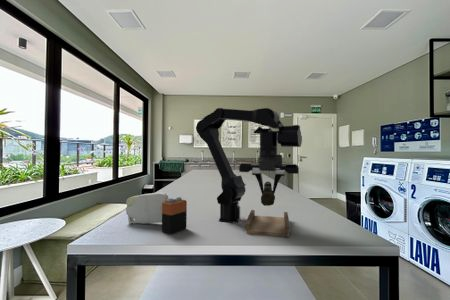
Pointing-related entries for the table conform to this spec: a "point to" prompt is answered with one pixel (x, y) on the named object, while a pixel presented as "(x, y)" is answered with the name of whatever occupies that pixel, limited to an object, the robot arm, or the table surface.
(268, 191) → the hand tool
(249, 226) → the tool cradle
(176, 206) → the battery
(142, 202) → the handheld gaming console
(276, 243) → the table surface
